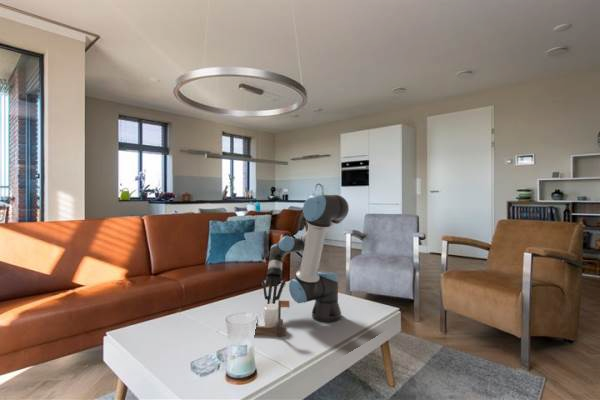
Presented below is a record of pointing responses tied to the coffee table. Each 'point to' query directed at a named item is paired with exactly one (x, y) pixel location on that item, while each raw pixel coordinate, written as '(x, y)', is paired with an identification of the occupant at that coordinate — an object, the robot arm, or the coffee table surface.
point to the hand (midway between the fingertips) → (270, 312)
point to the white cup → (271, 315)
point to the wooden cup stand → (273, 330)
